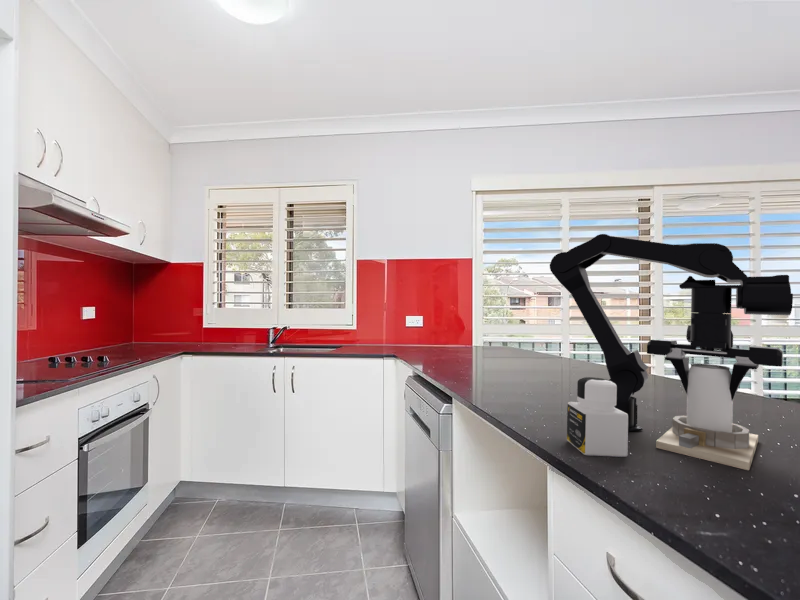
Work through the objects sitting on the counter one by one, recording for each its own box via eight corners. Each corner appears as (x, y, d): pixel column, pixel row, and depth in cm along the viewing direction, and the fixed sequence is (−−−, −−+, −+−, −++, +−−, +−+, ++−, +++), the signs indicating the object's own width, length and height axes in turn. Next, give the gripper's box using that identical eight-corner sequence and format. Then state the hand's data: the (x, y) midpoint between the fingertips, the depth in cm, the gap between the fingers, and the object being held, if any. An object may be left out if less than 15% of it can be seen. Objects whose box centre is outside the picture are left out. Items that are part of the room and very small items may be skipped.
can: (714, 427, 72) (715, 364, 72) (742, 438, 65) (743, 369, 65) (678, 425, 72) (679, 362, 73) (702, 436, 66) (703, 367, 66)
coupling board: (749, 470, 57) (749, 446, 58) (656, 447, 66) (656, 426, 66) (758, 441, 71) (758, 421, 71) (680, 425, 80) (680, 408, 80)
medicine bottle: (566, 440, 69) (567, 374, 69) (605, 442, 68) (607, 375, 69) (584, 455, 61) (585, 382, 62) (628, 457, 61) (629, 383, 61)
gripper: (784, 315, 68) (782, 402, 68) (661, 312, 82) (659, 384, 81) (782, 315, 60) (781, 413, 60) (647, 311, 74) (645, 391, 74)
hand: (709, 398), depth 69 cm, fingers closed on can, 6 cm apart
